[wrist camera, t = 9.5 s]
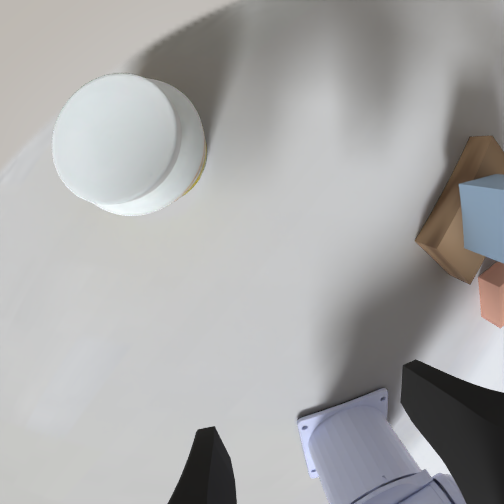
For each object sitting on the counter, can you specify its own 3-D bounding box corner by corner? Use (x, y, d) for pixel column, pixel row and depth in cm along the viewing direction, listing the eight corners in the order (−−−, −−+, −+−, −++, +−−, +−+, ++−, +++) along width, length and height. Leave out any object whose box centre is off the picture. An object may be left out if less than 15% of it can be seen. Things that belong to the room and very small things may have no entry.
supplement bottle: (226, 159, 18) (243, 144, 9) (156, 220, 18) (106, 267, 9) (167, 92, 16) (129, 21, 7) (99, 154, 17) (8, 143, 7)
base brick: (446, 273, 22) (470, 284, 19) (411, 239, 21) (436, 249, 18) (495, 176, 21) (520, 179, 18) (466, 136, 20) (492, 135, 17)
